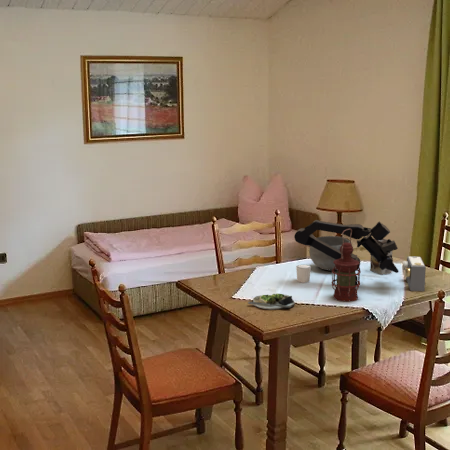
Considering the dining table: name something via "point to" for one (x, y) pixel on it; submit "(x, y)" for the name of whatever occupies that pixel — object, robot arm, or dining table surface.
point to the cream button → (405, 265)
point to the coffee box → (375, 265)
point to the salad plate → (273, 301)
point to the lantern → (346, 274)
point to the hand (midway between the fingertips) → (397, 272)
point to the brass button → (407, 272)
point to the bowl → (320, 257)
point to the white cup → (303, 273)
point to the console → (416, 274)
